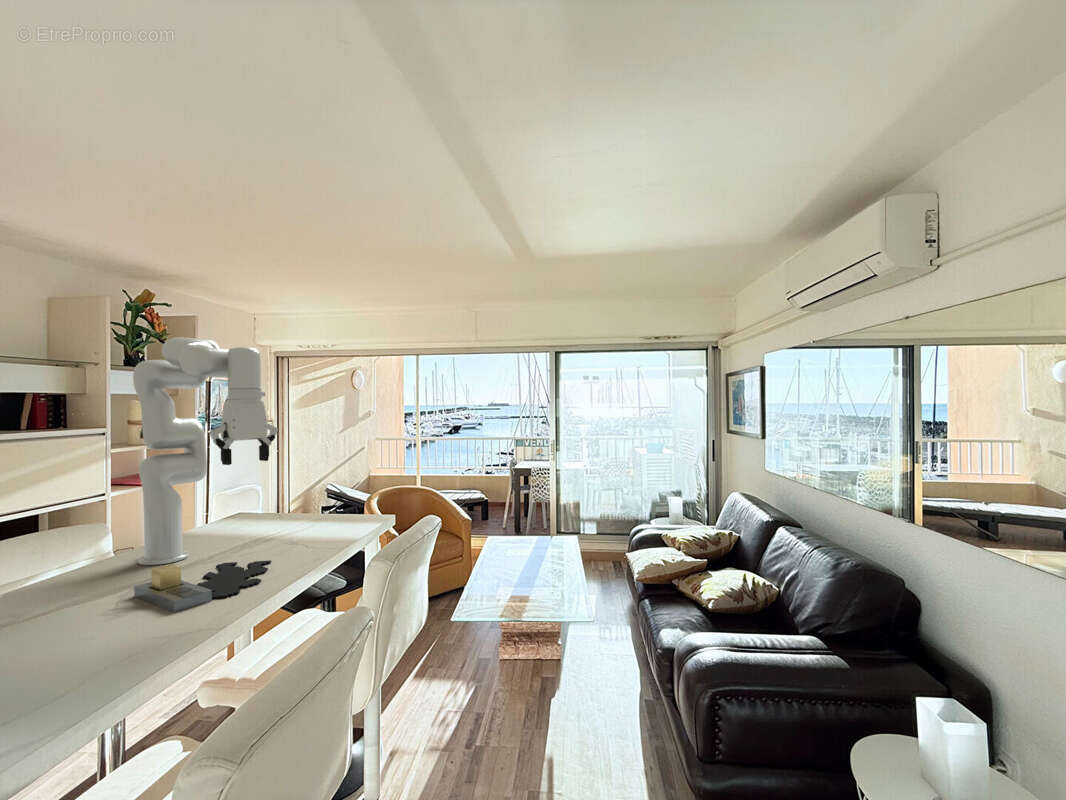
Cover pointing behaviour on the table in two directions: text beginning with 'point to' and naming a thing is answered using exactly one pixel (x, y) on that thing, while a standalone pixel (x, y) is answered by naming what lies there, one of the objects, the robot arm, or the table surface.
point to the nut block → (165, 577)
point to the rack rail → (174, 596)
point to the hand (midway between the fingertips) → (245, 462)
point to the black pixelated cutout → (233, 578)
